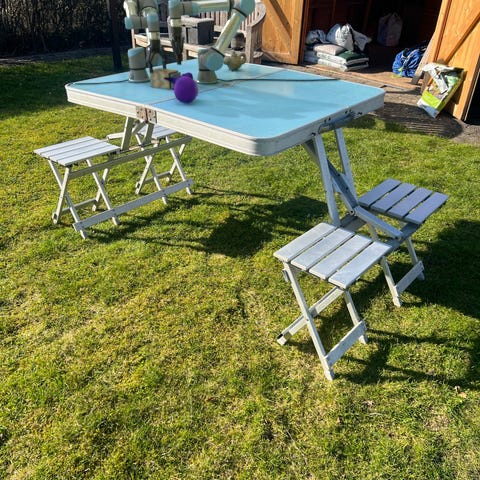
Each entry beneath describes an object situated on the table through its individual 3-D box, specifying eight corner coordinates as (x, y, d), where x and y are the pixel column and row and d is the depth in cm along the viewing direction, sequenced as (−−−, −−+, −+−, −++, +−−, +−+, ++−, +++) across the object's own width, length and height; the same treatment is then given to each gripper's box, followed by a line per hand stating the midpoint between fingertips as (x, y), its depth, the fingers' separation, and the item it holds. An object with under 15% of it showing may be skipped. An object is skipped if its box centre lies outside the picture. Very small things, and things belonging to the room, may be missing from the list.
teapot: (227, 72, 362) (226, 52, 355) (220, 70, 371) (219, 51, 363) (249, 69, 371) (249, 50, 364) (242, 67, 380) (242, 48, 372)
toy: (187, 94, 295) (198, 108, 275) (161, 90, 288) (170, 104, 267) (192, 70, 287) (203, 83, 267) (165, 65, 280) (175, 77, 259)
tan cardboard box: (179, 86, 319) (178, 70, 314) (169, 89, 312) (168, 72, 306) (161, 84, 328) (159, 68, 322) (151, 86, 321) (149, 70, 315)
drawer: (188, 86, 314) (187, 72, 310) (179, 89, 308) (178, 75, 303) (164, 83, 325) (163, 70, 321) (155, 85, 319) (154, 72, 314)
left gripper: (145, 41, 296) (149, 74, 307) (171, 37, 314) (173, 69, 325) (137, 40, 300) (141, 73, 311) (163, 36, 318) (166, 68, 328)
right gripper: (173, 27, 286) (177, 66, 298) (187, 25, 295) (189, 63, 307) (165, 27, 290) (168, 65, 302) (178, 25, 299) (181, 62, 311)
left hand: (158, 71), depth 318 cm, fingers open, 13 cm apart
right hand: (179, 64), depth 305 cm, fingers closed
